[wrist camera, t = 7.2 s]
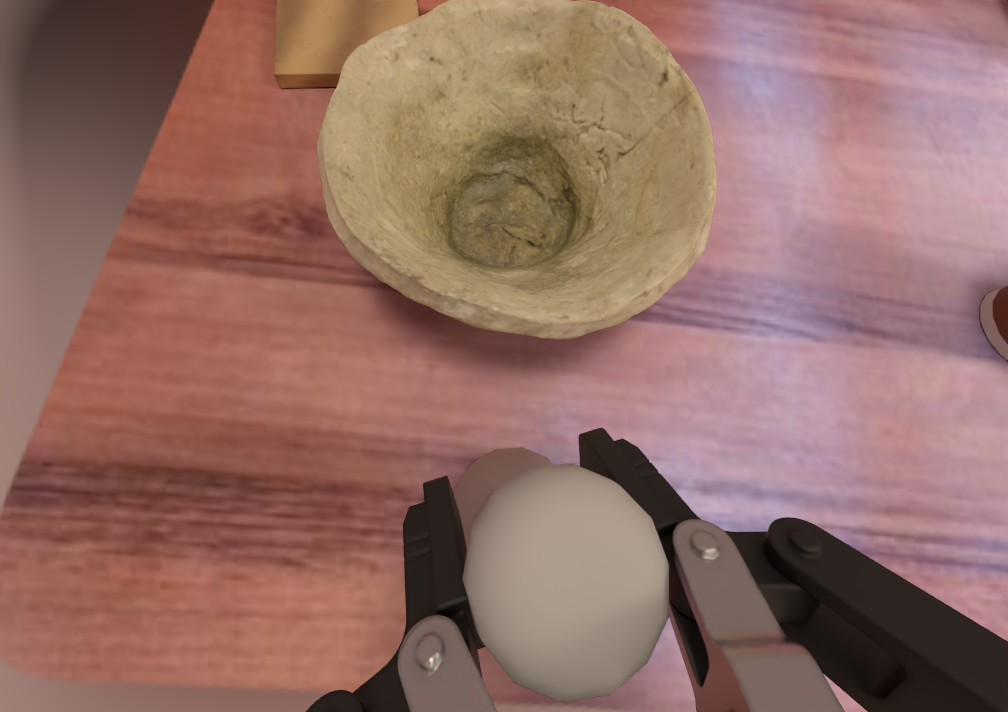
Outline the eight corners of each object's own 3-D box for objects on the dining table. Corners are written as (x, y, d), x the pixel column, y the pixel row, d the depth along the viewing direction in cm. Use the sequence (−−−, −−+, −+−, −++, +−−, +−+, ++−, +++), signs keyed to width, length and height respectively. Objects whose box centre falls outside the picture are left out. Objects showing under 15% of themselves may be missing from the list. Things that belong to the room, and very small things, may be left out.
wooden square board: (280, 88, 25) (272, 73, 24) (283, -12, 28) (277, -28, 27) (426, 86, 27) (424, 72, 26) (416, -10, 29) (414, -26, 28)
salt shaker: (556, 575, 18) (734, 811, 6) (443, 559, 18) (387, 771, 6) (567, 456, 20) (724, 450, 8) (464, 440, 20) (454, 406, 7)
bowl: (601, 261, 29) (710, 373, 17) (361, 245, 26) (290, 367, 14) (664, 28, 21) (944, -65, 9) (332, -35, 18) (115, -294, 6)
